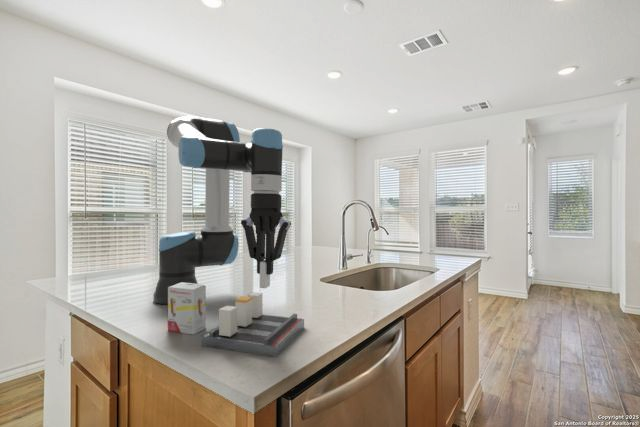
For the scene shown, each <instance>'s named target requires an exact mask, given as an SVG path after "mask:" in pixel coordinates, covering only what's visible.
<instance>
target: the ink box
mask: <svg viewBox="0 0 640 427" xmlns="http://www.w3.org/2000/svg"><path fill="white" fill-rule="evenodd" d="M206 290H207V287H206V285H205V284H202V283H201V284H200V283H198V284H194V283H184V282H181V283H178V284H175V285H173V286H170V287H168V304H167V331H168V332H172V333H173V332H174V333H180V334H181V333H182V334H188V335H196V334H197V333H199V332H201V331H203V330H205V329H206V327H207V326H206V323H207V322H206V321H207V320H206V319H207V318H206V314H207V313H206V311H207V310H206V306H207V305H206V303H207V301H206V300H207V296H206V294H207V291H206Z"/></svg>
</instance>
